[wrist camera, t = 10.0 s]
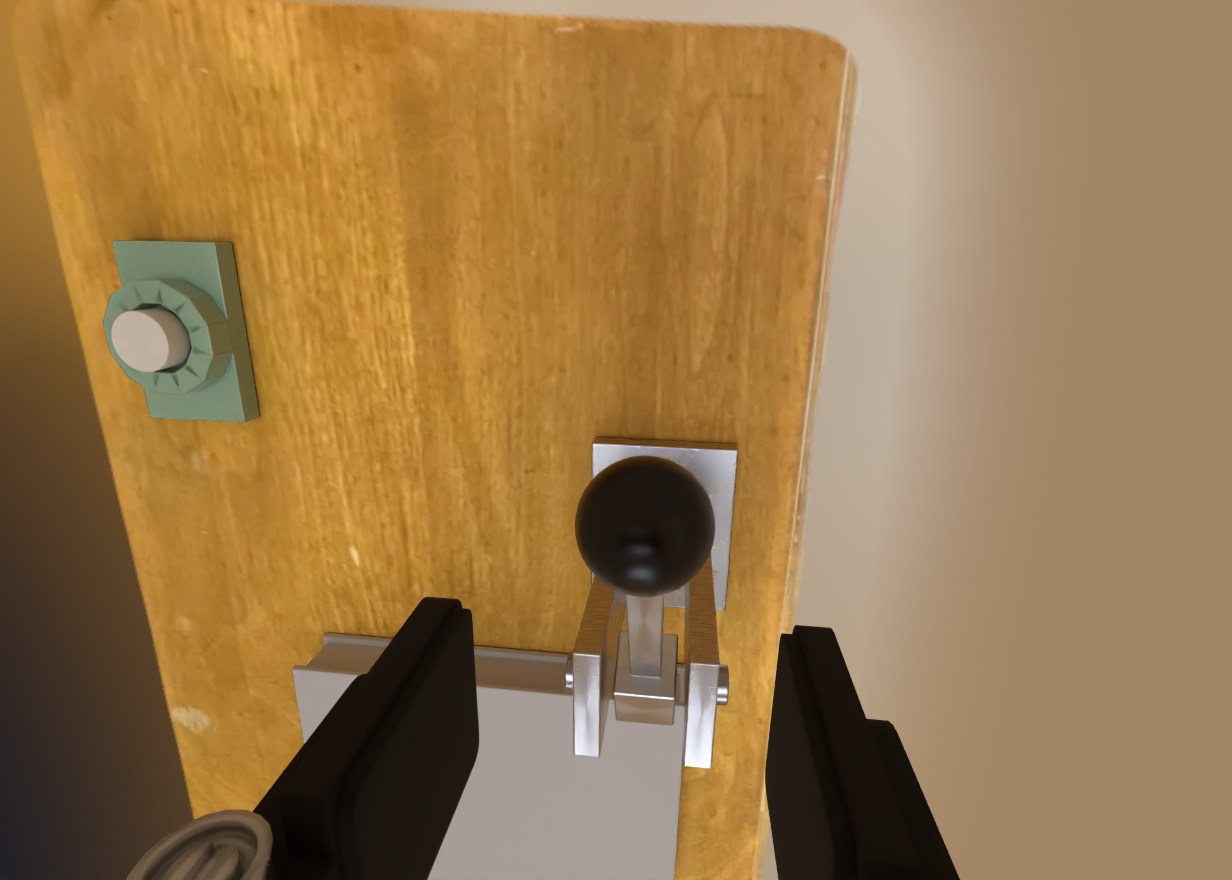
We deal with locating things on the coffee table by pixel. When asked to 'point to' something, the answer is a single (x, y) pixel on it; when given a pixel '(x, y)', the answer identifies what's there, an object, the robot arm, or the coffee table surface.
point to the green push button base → (189, 327)
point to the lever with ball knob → (645, 568)
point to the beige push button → (150, 339)
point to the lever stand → (699, 597)
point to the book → (537, 773)
